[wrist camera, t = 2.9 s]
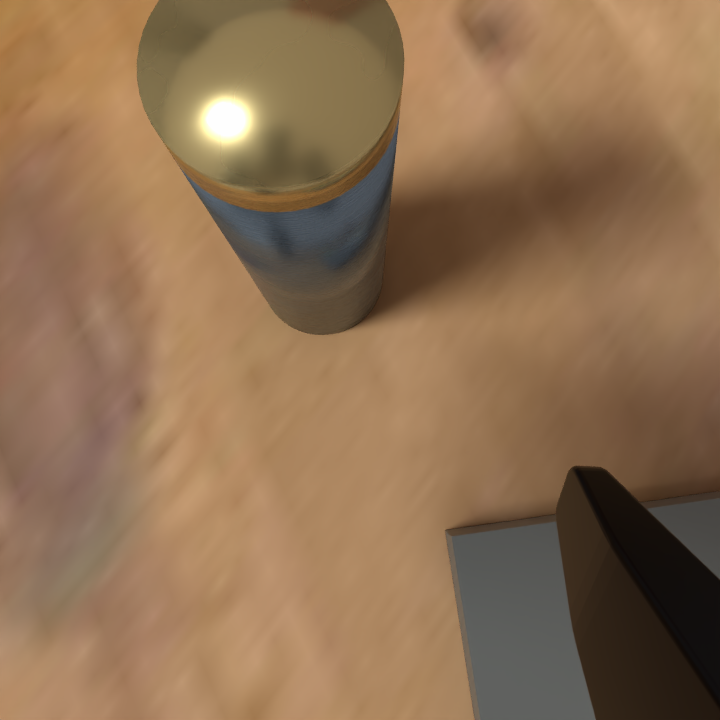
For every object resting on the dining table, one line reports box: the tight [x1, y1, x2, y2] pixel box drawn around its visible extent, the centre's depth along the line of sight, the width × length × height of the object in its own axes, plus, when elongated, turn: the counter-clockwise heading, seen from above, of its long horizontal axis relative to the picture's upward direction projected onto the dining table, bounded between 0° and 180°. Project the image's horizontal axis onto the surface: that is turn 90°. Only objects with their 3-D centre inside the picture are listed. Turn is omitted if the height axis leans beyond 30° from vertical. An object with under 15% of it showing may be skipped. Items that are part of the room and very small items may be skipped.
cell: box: [137, 0, 404, 335], centre depth 16 cm, size 4×4×12 cm
